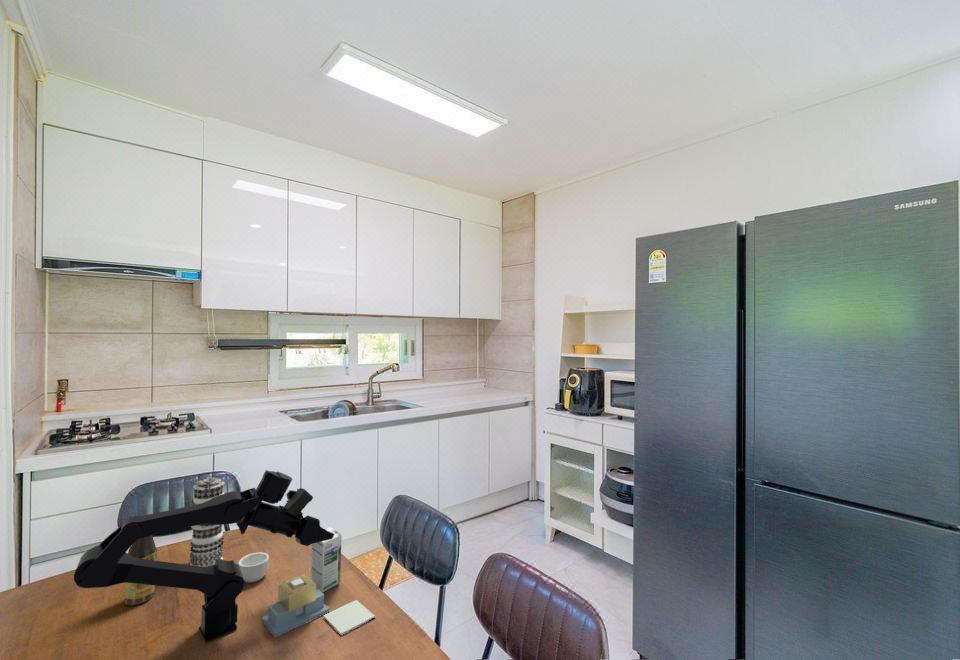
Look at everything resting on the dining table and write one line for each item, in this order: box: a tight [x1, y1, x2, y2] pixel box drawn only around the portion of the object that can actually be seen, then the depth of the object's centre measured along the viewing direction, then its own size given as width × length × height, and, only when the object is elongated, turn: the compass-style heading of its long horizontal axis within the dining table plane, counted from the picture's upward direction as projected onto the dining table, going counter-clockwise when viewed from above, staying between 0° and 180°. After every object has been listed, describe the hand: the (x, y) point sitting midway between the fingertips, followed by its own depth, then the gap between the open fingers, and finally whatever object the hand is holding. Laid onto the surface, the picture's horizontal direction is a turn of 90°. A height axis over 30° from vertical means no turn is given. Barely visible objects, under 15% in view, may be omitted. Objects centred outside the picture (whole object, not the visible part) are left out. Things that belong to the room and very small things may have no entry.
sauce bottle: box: [123, 535, 158, 606], centre depth 111 cm, size 6×6×20 cm
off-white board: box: [322, 599, 376, 636], centre depth 105 cm, size 9×9×1 cm
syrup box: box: [310, 526, 343, 593], centre depth 118 cm, size 6×6×14 cm
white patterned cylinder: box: [189, 476, 226, 567], centre depth 130 cm, size 9×9×25 cm
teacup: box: [237, 551, 270, 584], centre depth 122 cm, size 10×8×5 cm
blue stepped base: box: [262, 578, 330, 638], centre depth 105 cm, size 13×8×8 cm, turn 136°
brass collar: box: [277, 573, 316, 612], centre depth 105 cm, size 7×7×4 cm
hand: (326, 533), depth 115 cm, fingers open, 9 cm apart
